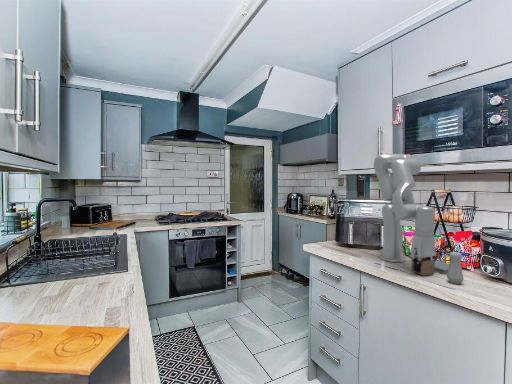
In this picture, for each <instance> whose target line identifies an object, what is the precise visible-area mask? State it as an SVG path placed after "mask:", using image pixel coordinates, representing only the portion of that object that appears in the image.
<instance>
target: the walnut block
mask: <svg viewBox="0 0 512 384" xmlns="http://www.w3.org/2000/svg"><path fill="white" fill-rule="evenodd" d="M417 260H418V258H417ZM435 261H436V260H433V261H432V260H429V259H426V258H421V261H420V264H421V269H420V272H416V271H414V270H413V268H414V262H413V261H412V260H411V265H410V266H411V267H410V268H411V269H410V270H411V271H410V272H414V273H416V274H419V275H421V276H429V275H430V276H431V275H434V274H435V271H434V266H435Z"/></svg>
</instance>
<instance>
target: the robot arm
mask: <svg viewBox="0 0 512 384" xmlns="http://www.w3.org/2000/svg"><path fill="white" fill-rule="evenodd" d="M421 168H422V166H421V163H420V161H419V160H418V159H416V157H412V156H410V155H407V154H404V153H382V154H378V155H377V156H376V157H375V158H374V160H373V169H374V172H375V175H376V177H377V180H378V184H379V189H380V194H381V198H382V200H384V202H388V203H386V204H384V205H383V206H382V208H381V216H382V220H383V222H382V224H383V229H382V230H383V234H382V235H383V246H382V248H380V249H379V250H378V252H379V253H380V254H381V255H379V259H380V260H382V261H385V262H389V263H405V262H406V257H404V256H403V236H404V235H403V229H404V228H403V226H402V224H401V223H400V221H410V220H413V221H415V222H414V235H413V237H412V240H411V249H410V254H409V258H410V259H411V262H412V261H413V262H414V268H413V270H414V271H416V272H420V269H421V264H420V261H421V258H426V259H429V260H432V261H434V259H435V257H436V256H437V251H436V243H435V242H436V241H435V218H436V215H435V214H436V210H435V208H434V207H432V206H428V205H427V206H426V205H424V204H419V203H417V204H416V203H415V200H414V194H413V192H412V189H413V188H414V187H415V186H416V182H415V179H414V177H413V175H418V174H419V173H420V172H421V170H422V169H421ZM390 170H391V171H390ZM389 202H390V203H389ZM417 258H418V260H417ZM416 272H415V273H416Z"/></svg>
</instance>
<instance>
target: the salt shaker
mask: <svg viewBox="0 0 512 384" xmlns="http://www.w3.org/2000/svg"><path fill="white" fill-rule="evenodd" d="M448 255H449V258H450V261H449V263H448V264H449V268H448V272H447V274H446V277H447V278H446V279H447V280H448V282H449V283H450V284H452V285H453V284H454V285H461V284H462V282H463V281H464V279H465V278H464V274H463V267H462V264H461V263H462V262H461V259H462V258H463V255H462V253H460V252H458V251H450V252H449V254H448ZM461 267H462V268H461Z"/></svg>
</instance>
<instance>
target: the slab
mask: <svg viewBox="0 0 512 384" xmlns="http://www.w3.org/2000/svg"><path fill="white" fill-rule="evenodd" d="M434 261H435V266H434V273H435V272H436V273H439V274H442V275H447V272H448V268H449V264H450V263H447V262H444V261H441V260H434ZM461 268H462V269H463V267H462V266H461Z"/></svg>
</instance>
